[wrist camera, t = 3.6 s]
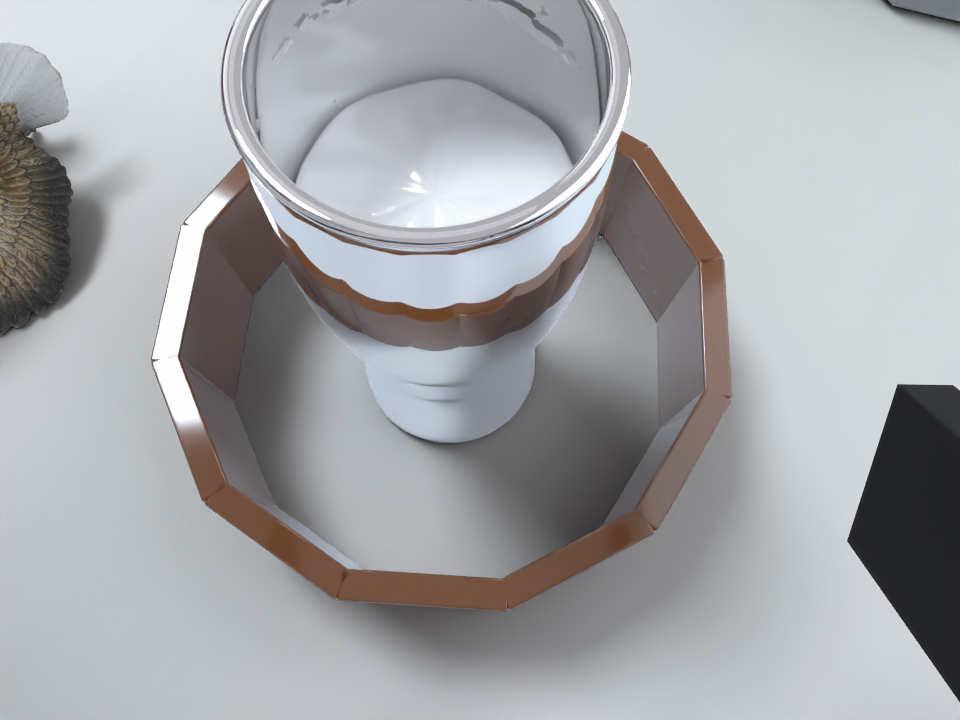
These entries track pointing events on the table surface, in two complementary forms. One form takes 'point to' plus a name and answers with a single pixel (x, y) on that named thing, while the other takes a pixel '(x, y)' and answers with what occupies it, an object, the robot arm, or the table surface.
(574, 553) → the brown ring
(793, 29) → the table surface
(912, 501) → the robot arm
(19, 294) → the eagle figurine
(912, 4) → the tankard
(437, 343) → the beer glass
